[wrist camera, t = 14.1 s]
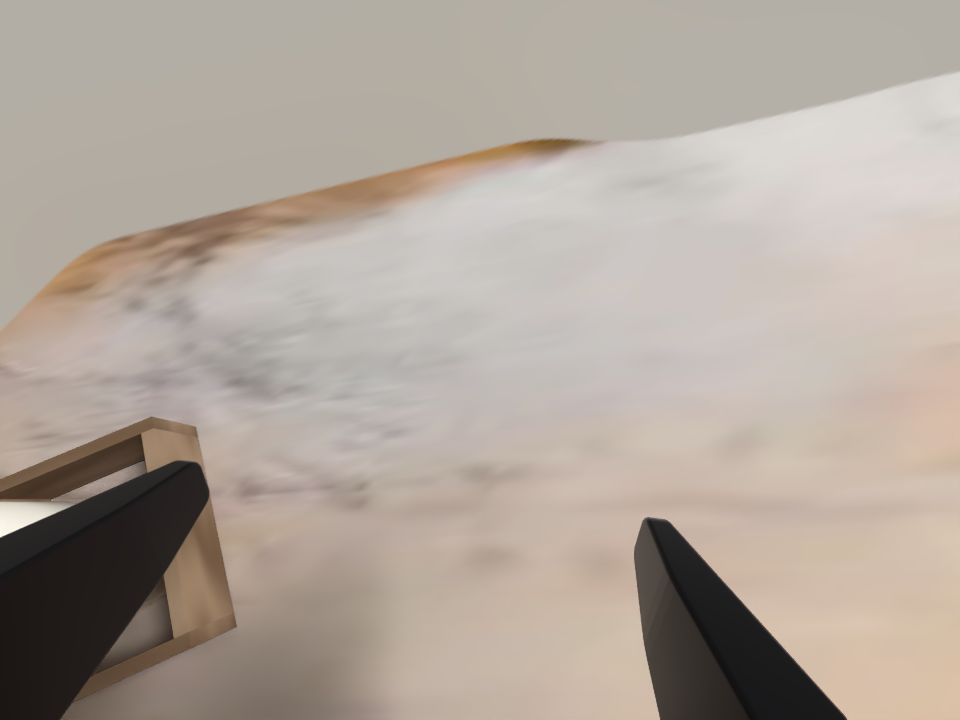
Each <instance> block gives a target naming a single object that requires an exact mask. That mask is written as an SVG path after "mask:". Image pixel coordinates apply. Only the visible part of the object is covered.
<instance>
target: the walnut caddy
mask: <svg viewBox="0 0 960 720" xmlns="http://www.w3.org/2000/svg"><path fill="white" fill-rule="evenodd" d="M142 460H145V461H146V468H147V473H148V472H150V471H153V470H155V469H157V468H160V467H162V466H164V465H166V464H169V463H171V462H173V461H176V460H186V461H194V462H197V463H199V464H200V465H201V467H202V470H203V473H204V476H205V479H206V475H205V470H204V465H203V460H202V455H201V450H200V446H199V441H198V436H197V431H196V427H194V426H189V425H185V424H181V423H177V422H172V421H168V420H164V419H159V418H155V417H150V418H147V419H145V420H142V421H140V422H137V423H135V424H133V425H130V426H128V427H125V428H123V429H121V430H118V431H116V432H113V433H111V434H109V435H106V436H104V437H101V438H99V439H97V440H94V441H92V442H89V443H87V444H84V445H82V446H80V447H77V448H75V449H72V450H70V451H68V452H65V453H63V454H60V455H58V456H56V457H53V458H51V459H48V460H46V461H43V462H41V463H39V464H36V465H34V466H31V467H29V468H27V469H24V470H22V471H19V472H17V473H15V474H12V475H10V476H7V477H5V478H3V479H0V502H51V500H50V499H52V498H55V497H57V496H60V495H62V494H64V493H67V492H69V491H71V490H74V489H76V488H79V487H81V486H83V485H86V484H88V483H90V482H93V481H95V480H97V479H100V478H102V477H105V476H107V475H109V474H112V473H114V472H116V471H119V470H121V469H124V468H126V467H128V466H131V465H133V464H135V463H138V462H140V461H142ZM206 482H207V480H206ZM164 580H165V586H166V593H167V599H168V605H169V612H170V618H171V624H172V630H173V637H174V639H172V640H170V641H168V642H165V643H163V644H161V645H159V646H157V647H154V648H152V649H150V650H148V651H146V652H143V653H141V654H139V655H137V656H135V657H133V658H130V659H128V660H126V661H124V662H122V663H119V664H117V665H115V666H113V667H111V668H108V669H106V670H104V671H102V672H100V673H97V674H95V675H93V676H91V677H90V678H89V680H88V681H87V682H86V684H85V685H84V687H83V688H82V689H81V691H80V692H79V694H78V695H77V696H76V698H75V699H74V701H73V702H75V701H77V700H79V699H81V698H83V697H85V696H88V695H90V694H92V693H94V692H96V691H99V690H101V689H103V688H105V687H107V686H109V685H112V684H114V683H116V682H118V681H120V680H123V679H125V678H127V677H129V676H131V675H133V674H136V673H138V672H140V671H142V670H144V669H147V668H149V667H151V666H153V665H155V664H157V663H160V662H162V661H164V660H166V659H168V658H170V657H173V656H175V655H177V654H179V653H181V652H184V651H186V650H188V649H190V648H192V647H194V646H197V645H199V644H201V643H203V642H205V641H207V640H209V639H211V638H214V637H216V636H218V635H220V634H222V633H224V632H226V631H228V630H231V629H233V628H235V627H237V626H236V622H235V617H234V612H233V607H232V602H231V597H230V592H229V587H228V582H227V578H226V573H225V568H224V563H223V558H222V553H221V548H220V543H219V538H218V534H217V529H216V524H215V519H214V514H213V509H212V504H211V499H210V495H209V499H208V502H207V504H206V506H205V508H204V509H203V511H202V513H201V514H200V516H199V518H198V519H197V521H196V523H195V524H194V526H193V528H192V529H191V531H190V533H189V534H188V536H187V538H186V539H185V541H184V543H183V544H182V546H181V548H180V549H179V551H178V553H177V554H176V556H175V558H174V559H173V561H172V563H171V564H170V566H169V567H168V569H167V571H166V572H165V574H164Z"/></svg>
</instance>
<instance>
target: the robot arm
mask: <svg viewBox="0 0 960 720" xmlns="http://www.w3.org/2000/svg"><path fill="white" fill-rule="evenodd" d="M209 495H210V491H209V488H208V485H207V482H206V479H205V476H204V473H203V470H202V467H201V465H200V464H199V463H197V462H194V461H186V460H176V461H173V462H171V463H169V464H166V465H164V466H162V467H160V468H157V469H155V470H153V471H150V472H148V473H146V474H144V475H141V476H139V477H137V478H134V479H132V480H130V481H128V482H125V483H123V484H121V485H118V486H116V487H114V488H112V489H109V490H107V491H105V492H102V493H100V494H98V495H96V496H93V497H91V498H89V499H87V500H84V501H82V502H80V503H77V504H75V505H73V506H71V507H68V508H66V509H64V510H61V511H59V512H57V513H55V514H52V515H50V516H48V517H45V518H43V519H41V520H39V521H36V522H34V523H32V524H30V525H27V526H25V527H23V528H20V529H18V530H16V531H14V532H11V533H9V534H7V535H4V536H2V537H0V720H60V719H61V717H62V716H63V714H64V713H65V712H66V710H67V709H68V707H69V706H70V705H71V703H72V702H73V701H74V699H75V698H76V696H77V695H78V694H79V692H80V691H81V689H82V688H83V687H84V685H85V684H86V682H87V681H88V680H89V678H90V677H91V676H92V674H93V673H94V671H95V670H96V669H97V667H98V666H99V664H100V663H101V662H102V660H103V659H104V657H105V656H106V655H107V653H108V652H109V651H110V649H111V648H112V646H113V645H114V644H115V642H116V641H117V639H118V638H119V637H120V635H121V634H122V633H123V631H124V630H125V628H126V627H127V626H128V624H129V623H130V621H131V620H132V619H133V617H134V616H135V614H136V613H137V612H138V610H139V609H140V608H141V606H142V605H143V603H144V602H145V601H146V599H147V598H148V596H149V595H150V594H151V592H152V591H153V589H154V588H155V587H156V585H157V584H158V582H159V581H160V580H161V578H162V577H163V575H164V574H165V572H166V571H167V569H168V567H169V566H170V564H171V563H172V561H173V559H174V558H175V556H176V554H177V553H178V551H179V549H180V548H181V546H182V544H183V543H184V541H185V539H186V538H187V536H188V534H189V533H190V531H191V529H192V528H193V526H194V524H195V523H196V521H197V519H198V518H199V516H200V514H201V513H202V511H203V509H204V508H205V506H206V504H207V502H208V499H209ZM634 561H635V570H636V579H637V588H638V597H639V605H640V614H641V623H642V632H643V639H644V646H645V651H646V656H647V661H648V666H649V670H650V675H651V680H652V684H653V689H654V693H655V698H656V702H657V707H658V711H659V716H660V720H847V718H846V717H845V715H844V714H843V713H842V712H841V711H840V710H839V709H838V708H837V707H836V705H835V704H834V703H833V702H832V701H831V700H830V699H829V698H828V697H827V696H826V694H825V693H824V692H823V691H822V690H821V689H820V688H819V687H818V686H817V684H816V683H815V682H814V681H813V680H812V679H811V678H810V677H809V676H808V674H807V673H806V672H805V671H804V670H803V669H802V668H801V667H800V666H799V665H798V663H797V662H796V661H795V660H794V659H793V658H792V657H791V656H790V655H789V653H788V652H787V651H786V650H785V649H784V648H783V647H782V646H781V645H780V643H779V642H778V641H777V640H776V639H775V638H774V637H773V636H772V635H771V634H770V632H769V631H768V630H767V629H766V628H765V627H764V626H763V625H762V624H761V622H760V621H759V620H758V619H757V618H756V617H755V616H754V615H753V614H752V612H751V611H750V610H749V609H748V608H747V607H746V606H745V605H744V604H743V603H742V601H741V600H740V599H739V598H738V597H737V596H736V595H735V594H734V593H733V591H732V590H731V589H730V588H729V587H728V586H727V585H726V584H725V583H724V581H723V580H722V579H721V578H720V577H719V576H718V575H717V574H716V573H715V572H714V570H713V569H712V568H711V567H710V566H709V565H708V564H707V563H706V562H705V560H704V559H703V558H702V557H701V556H700V555H699V554H698V553H697V552H696V550H695V549H694V548H693V547H692V546H691V545H690V544H689V543H688V542H687V541H686V539H685V538H684V537H683V536H682V535H681V534H680V533H679V532H678V531H677V529H676V528H675V527H674V526H673V525H672V524H671V523H670V522H669V521H667V520H665V519H658V518H650V517H647V518H645V519H644V520H643V522H642V524H641V528H640V531H639V534H638V538H637V541H636V545H635V549H634Z"/></svg>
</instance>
